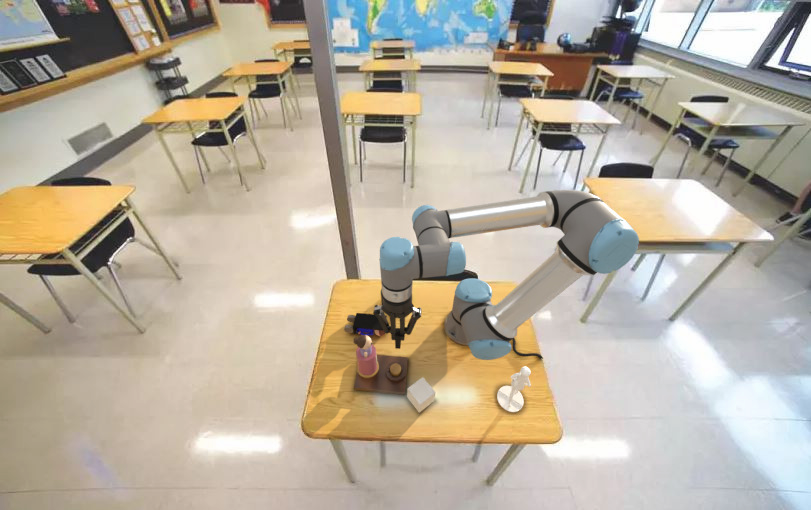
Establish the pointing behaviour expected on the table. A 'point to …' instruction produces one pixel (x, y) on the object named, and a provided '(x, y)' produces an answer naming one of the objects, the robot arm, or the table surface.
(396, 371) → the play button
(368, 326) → the figurine character
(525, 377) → the figurine
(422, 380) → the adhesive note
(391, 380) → the brown wooden base
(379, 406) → the table surface
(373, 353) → the doll
